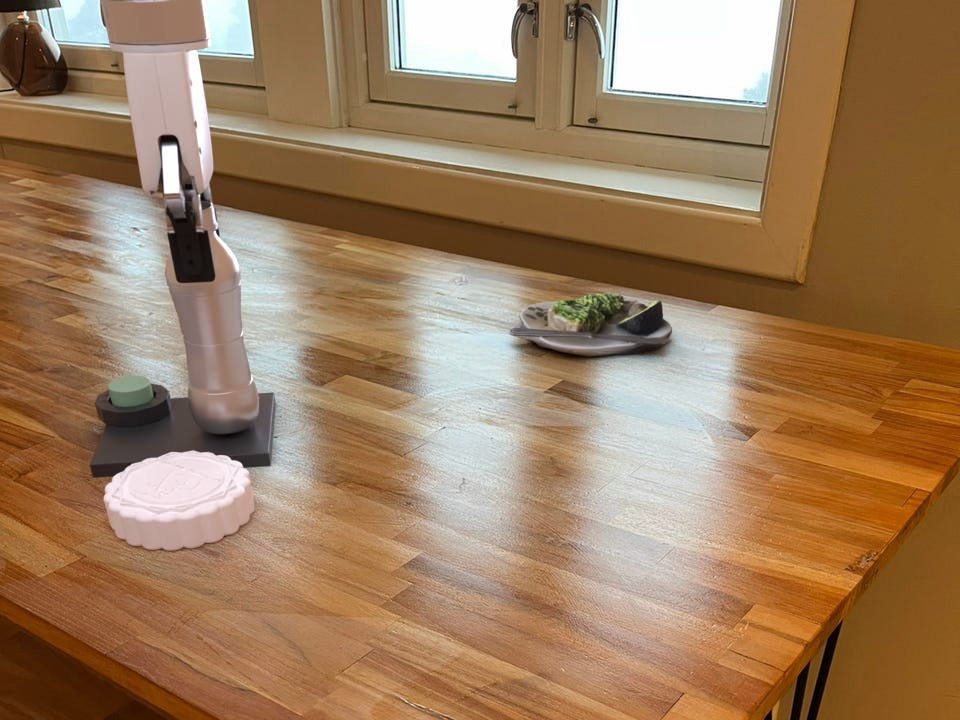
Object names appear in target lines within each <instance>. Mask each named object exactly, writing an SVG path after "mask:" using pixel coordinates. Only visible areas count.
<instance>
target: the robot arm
mask: <svg viewBox="0 0 960 720" xmlns="http://www.w3.org/2000/svg"><path fill="white" fill-rule="evenodd" d="M100 4H101V10H102V14H103V19H104V24H105V29H106V33H107V40H108V45H109V48H110V49H109V50H111V51H113V52H115V53H122V58H123V59H122V60H123V70H124V71H123V72H124V80H125V88H126V96H127V102H128V109H129V114H130V122H131V127H132V134H133V139H134V145H135V152H136V157H137V164H138V170H139V175H140V182H141V187H142V191H143V192H144V193H145V194H146V195H147V196H149V197H155V195H156V194H157V192H158V190H159V189H160V187H161V190H162V198H163V207H164V214H165V222H166V229H167V234H166V235H167V240H168V244H169V251H170V250H171V256H172V261H173V266H174V271H175V276H176V280H177V281H178V282H179V283H199V282H213V281H214V280H215V277H216V275H215V269H214V263H213V257H212V251H211V245H210V239H209V233H208V230H204V226H203V217H202V209H201V201H206V202H210V203H212V204H213V205H214V200H213V194H212V189H211V187H210V182H211V179H212V176H213V173H214V156H213V146H212V136H211V129H210V121H209V115H208V108H207V102H206V94H205V89H204V83H203V77H202V71H201V65H200V59H199V54H198V53H199V52H198V51H200V50H204V49H208V48H211V47H212V45H213V44H212V40H211V39H212V38H211V33H210V26H209V19H208V13H207V5H206V0H100ZM187 201H192V204H193V207H192V206H191V205H190V203H189V202H187ZM192 209H193V212H192ZM214 211H215V217H216V220H217V222H218V215H217V210H216V207H214ZM218 223H219V222H218ZM215 231H216V234H217V236H218V237H219V238H220V239H221V235H220V227H219V226H218V229H216V230H215Z"/></svg>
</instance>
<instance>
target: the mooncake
mask: <svg viewBox="0 0 960 720" xmlns="http://www.w3.org/2000/svg"><path fill="white" fill-rule="evenodd" d="M254 500H255V499H254V492H253V487H252V481H251V475H250V472H249V470H248V469H247V468H243V465H242V464H241V463H240V462H238V461H234V460H231V459H230V458H229V457H228V456H225V455H217V456H216V455H215V454H213V453H210V452H203V453H200V452H197V451H194V450H193V451H188V452H183V453H179V452H170V453H168V454H165V455H162V456H160V457H158V458H148V459H145V460H143V461H142V462H138V463H134V464H131V466H128V467H127V468H126V469H125V470H124V471H123V472H120V473H118V474H116V475H115V476H112V478H111V481H110V482H109V483H107V484H106V485H105V487H104V495H103V504H104V507H105V510H106V515H107V518H108V522H109V525H110V527H111V529H112V530H114V533H115V536H116V537H117V538H118V539H120V540H122V541H123V540H124V541H125V542H126V543H127V544H128V545H129V546H132V547H142V548H144V549H145V550H148V551H157V550H158V551H159V550H161V549H162V550H164V551H166V552H167V551H168V552H175V551H179V550H181V549H183V548H185V549H197V548H201V547H202V546H203V545H205V544H215V543H218V542H221V541H222V539H224V536H225V537H226V536H231V535H234V534H236V533H237V532H238V531H239V529H240V527H242V526H244V525H247V523H248V522H249V521H250V519H251V518H250V516H251V515H252V514H254V512H255V504H254V503H255V502H254Z"/></svg>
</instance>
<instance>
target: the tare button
mask: <svg viewBox="0 0 960 720" xmlns="http://www.w3.org/2000/svg"><path fill="white" fill-rule="evenodd" d="M151 384H152V382H151V380H150V379H149V378H148V377H146V376H141V375H129V376H128V375H127V376H123V377H118V378H116V379H113V380H112V381H110V382H109V383H108V385H107V390H109V393H110V397H111V401H112V404H113V405H115V406H120V407H130V406H138V405H141V404H145V403H148V402H150V401H151V400H153V399H154V396H153V391H152V387H151Z"/></svg>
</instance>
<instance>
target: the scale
mask: <svg viewBox="0 0 960 720" xmlns="http://www.w3.org/2000/svg"><path fill="white" fill-rule="evenodd" d="M151 387H152V391H153V396H154V399H153V400H151V401H150V402H148V403H145V404H141V405H138V406H130V407H120V406H115V405H113V404H112V401H111V397H110V393H109V390H108V389H106V390H105V391H103V392H101V393H99V394H98V395H97V396H96V399H95V401H94V405H95V409H96V413H97V417H98V419H99V420H100V421H102V422H103V424H105V427H104V428H103V431H102V433H101V436H100V438H99V441H98V443H97V446H96V448H95V451H94V453H93V455H92V458H91V460H90V463H89V468H90V471H91V474H92V478H93V479H95V478H111V477H112V478H113V477H114V476H115V475H116V474H118V473H120V472H123V471H124V470H125V469H126V468H127V467H128V466H131V464H134V463H138V462H142V461H143V460H145V459H148V458H158V457H160V456H162V455H165V454H168V453H170V452H179V453H183V452H188V451H193V450H194V451H197V452H200V453H203V452H210V453H213V454H215V455H216V456H217V455H225V456H228V457H229V458H230V459H231V460H234V461H238V462H240V463H241V464H242V465H243V468H244V469H247V468H262V467H271V465H272V457H273V456H272V454H273V445H274V444H273V443H274V431H275V420H276V408H277V402H276V396H275V395H276V394H275V392H273V391H272V392H271V391H270V392H258V396H259V414H258V416H257V418H256V420H255V422H254V423H253V425H251V426H250V427H249V428H247V429H245V430H242V431H239V432H235V433H230V434H212V433H208V432H205V431H203V430H202V429H201V428H200V427H199V426H198V425H197V424H196V423H195V422H194V420H193V417H192V414H191V412H190V409H189V402H188V396H186V397H171V394H170V391H169V389H167V388H166V387H164V386H163V385H161V384H158V383H157V384H156V383H151Z"/></svg>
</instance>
